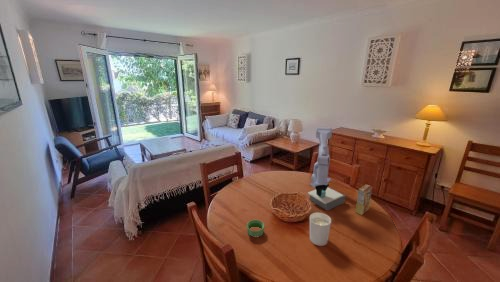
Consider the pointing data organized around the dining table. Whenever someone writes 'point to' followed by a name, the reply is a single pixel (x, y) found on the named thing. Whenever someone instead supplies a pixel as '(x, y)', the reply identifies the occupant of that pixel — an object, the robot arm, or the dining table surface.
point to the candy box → (363, 199)
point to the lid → (326, 195)
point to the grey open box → (330, 204)
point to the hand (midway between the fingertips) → (320, 194)
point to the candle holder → (319, 228)
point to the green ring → (255, 224)
